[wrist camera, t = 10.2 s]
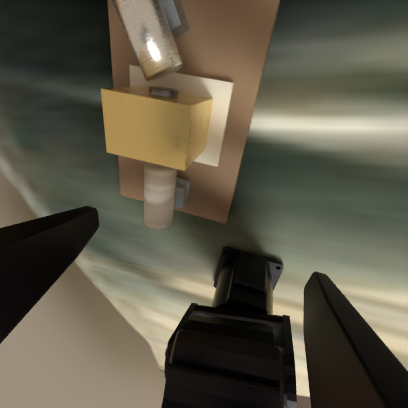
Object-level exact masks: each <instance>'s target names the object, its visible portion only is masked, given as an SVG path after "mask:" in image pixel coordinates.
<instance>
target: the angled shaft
mask: <svg viewBox="0 0 408 408" xmlns="http://www.w3.org/2000/svg"><path fill="white" fill-rule="evenodd" d="M112 3H113V5H114V7H115V10H116V12H117V14H118V17H119V19H120V21H121V24H122V26H123V28H124V31H125V33H126V35H127V38H128V40H129V42H130V45H131V47H132V49H133V52H134V54H135V56H136V59H137V61H138V63H139V66H140V68H141V70H142V73H143V75H144V77H145V80H146V81H153V80H157V79H160V78H163V77H165V76H167V75H169V74H171V73H173V72H175V71H177V70H178V69H180V68H181V67H182V66H183V63H182V60H181V58H180V55H179V52H178V49H177V46H176V44H175V41H174V39H175V38H177V37H178V36H180V35H182V34H183V33H185V32H187V31H188V30H190V27H189V24H188V21H187V18H186V15H185V12H184V9H183V6H182V3H181V0H112Z"/></svg>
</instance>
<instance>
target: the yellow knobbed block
mask: <svg viewBox="0 0 408 408" xmlns="http://www.w3.org/2000/svg"><path fill="white" fill-rule="evenodd" d="M101 96H102V106H103V117H104V127H105V137H106V148H107V152H108V153H112V154H116V155H120V156H124V157H129V158H133V159H137V160H141V161H145V162H149V163H154V164H158V165H162V166H166V167H170V168H174V169H179V170H183V171H185V170H186V169H187V168H188V167H189V166H190V165H191V164H192V163H193V162H194V161H195V159H196V158H197V157H198V156H199V155H200V154H201V153H202V152H203V151H204V150H205V149H206V143H207V136H208V130H209V123H210V116H211V109H212V102H213V98H207V97H202V96H196V95H191V94H185V93H180V92H179V91H178V90H175V89H170V88H164V87H155V86H150V87H147V86H139V87H122V88H105V89H101Z"/></svg>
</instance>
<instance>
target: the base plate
mask: <svg viewBox="0 0 408 408" xmlns="http://www.w3.org/2000/svg"><path fill="white" fill-rule="evenodd" d="M181 3H182V6H183V9H184V12H185V15H186V18H187V21H188V24H189V27H190V30H188V31H187V32H185V33H183V34H182V35H180V36H178V37H177V38H175V39H174V41H175V44H176V46H177V49H178V52H179V55H180V58H181V60H182V63H183V66H182V67H181V68H180V69H178V70H177V71H175V72H173V73H171V74H169V75H167V76H165V77H163V78H160V79H157V80H153V81H146V80H145V77H144V75H143V73H142V70H141V68H140V66H139V63H138V61H137V59H136V56H135V54H134V52H133V49H132V47H131V45H130V42H129V40H128V38H127V35H126V33H125V31H124V28H123V26H122V24H121V21H120V19H119V17H118V14H117V12H116V10H115V7H114V5H113V3H112V0H108V14H109V29H110V44H111V59H112V74H113V88H122V87H139V86H147V87H150V86H155V87H164V88H170V89H175V90H178V91H179V92H180V93H185V94H191V95H196V96H202V97H207V98H213V102H212V109H211V116H210V123H209V130H208V136H207V143H206V149H205V150H204V151H203V152H202V153H201V154H200V155H199V156H198V157H197V158H196V159H195V161H194V162H193V163H192V164H191V165H190V166H189V167H188V168H187V169H186V170H185V171H183V170H179V169H174V168H170V167H166V166H162V165H158V164H154V163H149V162H145V161H141V160H137V159H133V158H129V157H124V156H120V155H118V163H119V178H120V193H121V195H122V196H125V197H129V198H133V199H136V200H140V201H144V223H145V225H146V226H147V227H149V228H151V229H155V230H163V229H166V228H168V227H170V226H171V225H172V223H173V212H174V210H177V211H180V212H184V213H188V214H192V215H195V216H199V217H203V218H206V219H210V220H214V221H217V222H221V223H225V224H226V222H227V219H228V215H229V211H230V207H231V203H232V199H233V195H234V191H235V186H236V182H237V178H238V174H239V170H240V166H241V161H242V157H243V153H244V149H245V145H246V141H247V137H248V132H249V128H250V124H251V120H252V116H253V112H254V107H255V103H256V99H257V95H258V91H259V87H260V83H261V78H262V74H263V70H264V66H265V62H266V58H267V53H268V49H269V45H270V41H271V37H272V33H273V29H274V24H275V20H276V16H277V12H278V8H279V4H280V0H181Z"/></svg>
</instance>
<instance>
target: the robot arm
mask: <svg viewBox="0 0 408 408" xmlns="http://www.w3.org/2000/svg"><path fill="white" fill-rule="evenodd" d="M98 227H99V218H98V211H97V209H96V208H93V207H90V206H84V207H81V208H77V209H73V210H69V211H65V212H61V213H57V214H53V215H50V216H46V217H42V218H38V219H34V220H30V221H26V222H22V223H19V224H15V225H11V226H7V227H3V228H0V344H1V342H2V341H3V340H4V339H5V338H6V337H7V336H8V334H9V333H10V332H11V331H12V330H13V329H14V328H15V327H16V326H17V324H18V323H19V322H20V321H21V320H22V319H23V318H24V316H25V315H26V314H27V313H28V312H29V311H30V310H31V309H32V308H33V306H34V305H35V304H36V303H37V302H38V301H39V300H40V299H41V297H42V296H43V295H44V294H45V293H46V292H47V291H48V290H49V288H50V287H51V286H52V285H53V284H54V283H55V282H56V280H57V279H58V278H59V277H60V276H61V275H62V274H63V273H64V272H65V270H66V269H67V268H68V267H69V266H70V265H71V264H72V263H73V261H74V260H75V259H76V258H77V257H78V255H79V254H80V253H81V251H82V250H83V249H84V247H85V246H86V245H87V243H88V242H89V240H90V239H91V238H92V236H93V235H94V233H95V232H96V231H97V229H98ZM226 251H228V252H226ZM277 266H280V267H277ZM282 271H283V263H282V262H279V261H276V260H272V259H269V258H265V257H262V256H258V255H255V254H251V253H248V252H244V251H241V250H237V249H234V248H231V247H224V248H223V250H222V254H221V258H220V262H219V266H218V270H217V274H216V278H215V282H214V287H215V288H216V291H215V295H214V299H213V302H212V306H204V305H198V304H197V303H191V305H190V307H189V308H188V310H187V311H186V313H185V315H184V316H183V318H182V320H181V321H180V323H179V324H178V326H177V328H176V329H175V331H174V333H173V334H172V336H171V338H170V339H169V341H168V347H167V349H166V352H165V356H166V359H165V378H166V384H165V390H164V397H163V403H162V407H161V408H297V405H296V403H297V399H296V374H295V360H294V351H293V342H292V334H291V325H290V316H287V315H283V316H278V315H273V290H274V288H275V286H276V284H277V281H278V279H279V277H280V275H281V273H282ZM304 342H305V351H306V361H307V371H308V380H309V390H310V399H311V408H408V371H407V370H406V369H405V367H404V366H403V365H402V364H401V363H400V362H399V360H398V359H397V358H396V357H395V356H394V354H393V353H392V352H391V351H390V350H389V348H388V347H387V346H386V345H385V344H384V342H383V341H382V340H381V339H380V338H379V337H378V335H377V334H376V333H375V332H374V331H373V329H372V328H371V327H370V326H369V325H368V323H367V322H366V321H365V320H364V319H363V317H362V316H361V315H360V314H359V313H358V312H357V310H356V309H355V308H354V307H353V306H352V304H351V303H350V302H349V301H348V300H347V298H346V297H345V296H344V295H343V294H342V292H341V291H340V290H339V289H338V288H337V287H336V285H335V284H334V283H333V282H332V281H331V279H330V278H329V277H328V276H327V275H326V274H323V273H319V272H314V273H313V274H312V275H311V277H310V278H309V280H308V282H307V284H306V285H305V288H304Z"/></svg>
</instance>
